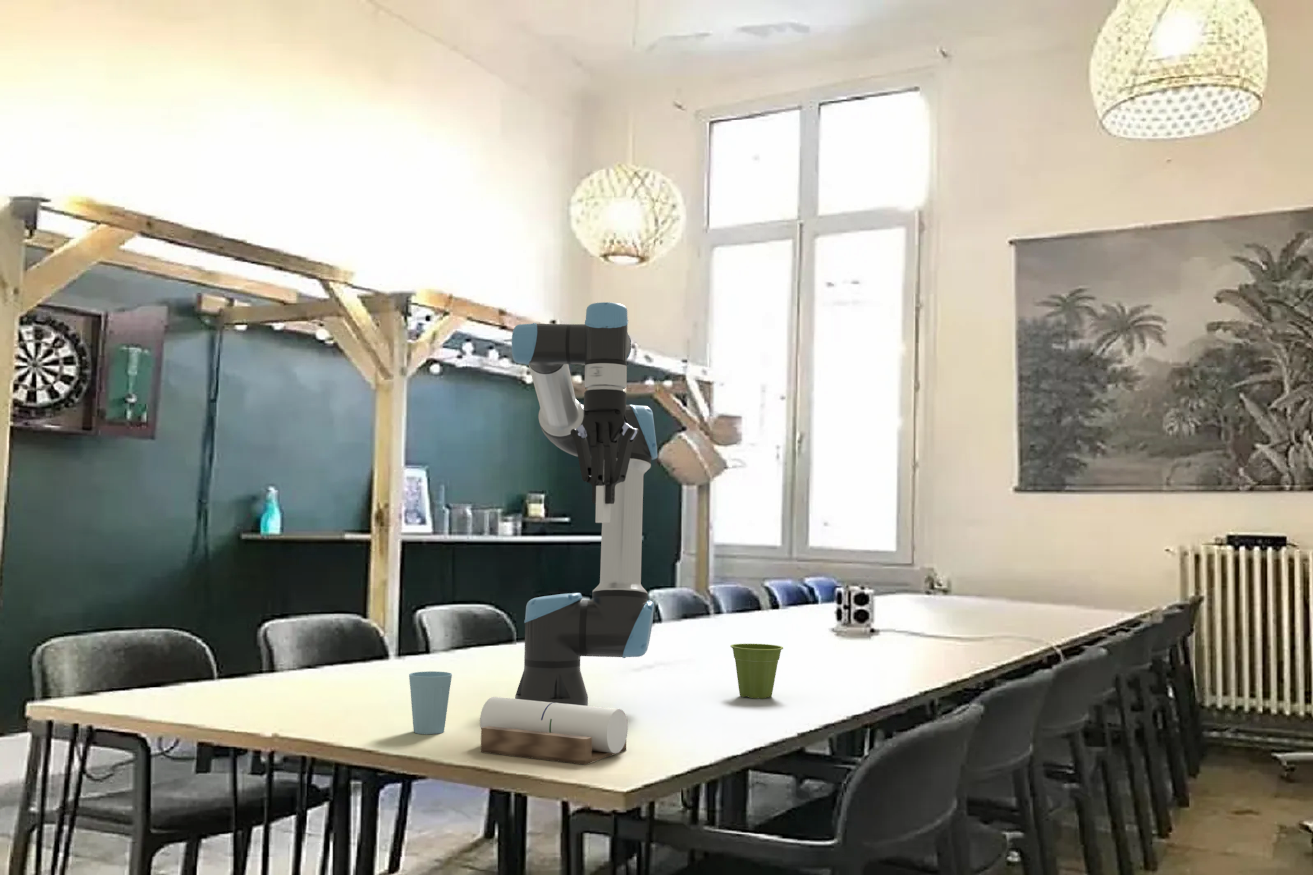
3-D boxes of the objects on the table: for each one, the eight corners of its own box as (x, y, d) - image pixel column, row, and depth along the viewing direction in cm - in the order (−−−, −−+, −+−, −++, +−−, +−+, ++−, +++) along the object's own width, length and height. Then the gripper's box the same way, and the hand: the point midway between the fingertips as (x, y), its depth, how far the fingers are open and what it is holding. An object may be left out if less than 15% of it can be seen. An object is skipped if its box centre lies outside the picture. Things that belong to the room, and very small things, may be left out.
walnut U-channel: (480, 752, 197) (481, 727, 197) (526, 739, 209) (526, 716, 209) (585, 764, 188) (585, 739, 188) (626, 750, 200) (626, 726, 201)
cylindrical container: (614, 701, 194) (489, 689, 206) (602, 742, 190) (475, 728, 202) (631, 720, 199) (508, 707, 211) (620, 760, 195) (494, 745, 207)
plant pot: (749, 702, 257) (750, 649, 257) (719, 694, 267) (720, 644, 268) (793, 698, 262) (793, 647, 263) (762, 691, 273) (763, 642, 274)
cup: (448, 735, 211) (449, 676, 212) (404, 735, 211) (406, 676, 212) (452, 728, 219) (454, 671, 220) (410, 728, 218) (412, 671, 219)
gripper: (563, 389, 210) (560, 522, 208) (627, 386, 204) (625, 523, 203) (584, 393, 217) (581, 522, 215) (647, 390, 211) (645, 523, 209)
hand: (602, 522), depth 209 cm, fingers closed
